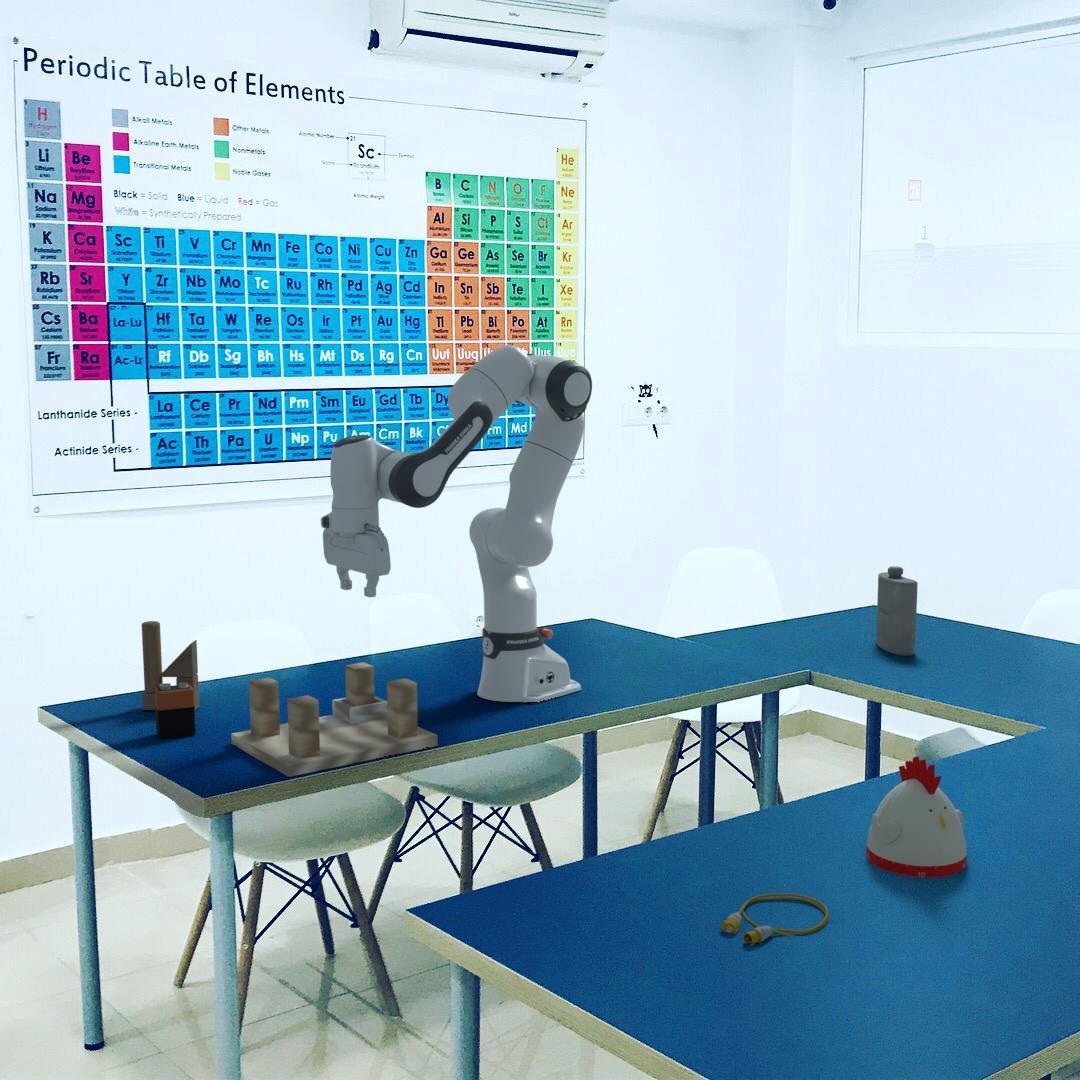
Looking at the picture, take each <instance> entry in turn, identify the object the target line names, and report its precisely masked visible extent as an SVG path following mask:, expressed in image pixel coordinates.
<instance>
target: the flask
mask: <svg viewBox="0 0 1080 1080" xmlns="http://www.w3.org/2000/svg"><path fill="white" fill-rule="evenodd" d="M902 575H904V568H903V567H901V566H897V565H895V566H889V567H888V568H887V572H886V571H885V572H880V573H878V575H877V577H878V578H877V606H876V607H877V609H876V630H875V631H876V632H875V633H876V635H875V644H876V645H877V646H878V647H879V648H880V649H882V650H883V651H885V652H887V653H889V654H890V653H891V654H893V655H897V656H902V657H905V656H906V657H910V656H913V655H915V653H916V641H917V640H916V635H917V610H918V609H917V608H918V606H917V605H918V581H916V580H914V579H911V578H907V577H904V576H902Z"/></svg>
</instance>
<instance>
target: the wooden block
mask: <svg viewBox="0 0 1080 1080" xmlns="http://www.w3.org/2000/svg"><path fill="white" fill-rule="evenodd" d="M161 634H162V633H161V623H160V621H156V620H149V621H144V622H142V623H141V639H142V640H141V642H142V643H141V644H142V659H143V660H142V661H143V663H142V664H143V680H144V681H143V683H144V692H143V693H142V694H141V704H142V711H143V710H155V688H158V687H160V684H164V681H163V678H175V681H176V682H175V683H176V685H175V686H177V685H179V683H184V682H186V683H188V685H190V686H191V687H192V688H193V690H194V704H195V711H197V710H198V709H199V708H198V707H200V694H199V693H200V692H199V691H200V690H199V668H198V666H199V665H198V642H197V640H196V639H195V640H193V641H192V642H190V643H189V645H188V646H186V647H185V649H184V650H183V651H182V652H180V654H179V655H178V656H177V657H176V658H175V659H174V660H173V661H172V662H170V664H169V665H168V666H167V667H166V668H165V669H164V670H163V661H162V639H161V638H162V637H161ZM197 708H198V709H197Z"/></svg>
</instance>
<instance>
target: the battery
mask: <svg viewBox="0 0 1080 1080" xmlns="http://www.w3.org/2000/svg"><path fill="white" fill-rule="evenodd" d="M154 712H155V729H156V730H155V731H156V734H157V736H158V738H159V739H161V740H164V739H163V738H167V739H173V738H172V737H175V738H181V736H184V737H191V735H192V736H195V735H196V733H197V732H196V731H197V730H196V728H197V727H196V710H195V704H194V690H193V688H192V687H191V686H190V685H188V683H186V682H184V683H179V685H171V682H170V683H166V682H165V683H164V682H163V684H160V687H158V688H155V711H154Z"/></svg>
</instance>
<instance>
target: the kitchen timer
mask: <svg viewBox="0 0 1080 1080" xmlns="http://www.w3.org/2000/svg"><path fill="white" fill-rule="evenodd" d="M935 769H936V765H935V764H928V766H927V760H926V758H925V759H920V756H913V758H912V760H906V761H905V764H904V765H899V766H898V770H899V771H898V772H899V775H900V779H901V782H900V783H899V784H897V785H896V786H894V788H893V787H892V789H891V790H890V791H889V792H888V793H887V794H886V795H885V796H884V798H883V799H882V800H881V802H880V804H879V805H878V806H877V807H878V808H877V809H876V810H875V813H872V815H871V824H870V827H869V831H868V836H867V841H866V851H865V852H866V854H865V855H866V858H867V859H868V861H869V862H870V863H871V864H873V865H874V866H876V867H878V868H880V869H882V870H885V871H886V872H887V871H888V872H890V873H894V874H897V875H902V876H907V877H908V876H909V877H913V878H915V877H918V878H940V877H941V878H942V877H947V876H952V875H956V874H958V873H959V872H962V871H964V869H965V868H966V866H967V843H966V837H965V834H964V831H963V829H964V825H965V818H964V816H963V813H962V812H961V810H960V809H958V808H957V809H956V808H955V806H954V804H953V803H952V802H951V800H950V798H948V796H947V795H946V793H944V791H943V790H942V789H941V788H940V787H939V785H940V782H941V780H942V775H938V776H936V775H935V774H936V772H935V771H936V770H935Z"/></svg>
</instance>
